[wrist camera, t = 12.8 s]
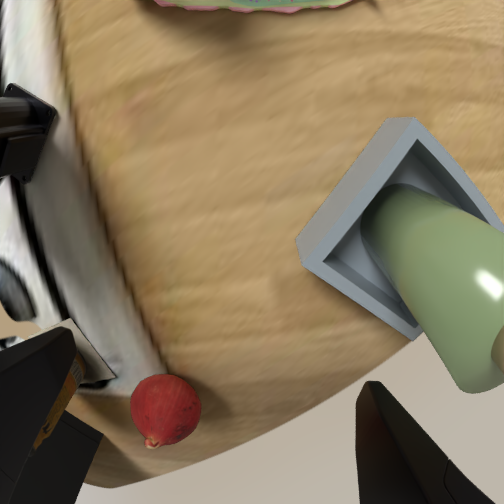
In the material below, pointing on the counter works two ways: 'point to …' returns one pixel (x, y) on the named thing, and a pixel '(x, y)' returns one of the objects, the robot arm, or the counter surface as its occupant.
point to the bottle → (443, 277)
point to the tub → (357, 199)
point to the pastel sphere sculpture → (252, 4)
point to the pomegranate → (164, 409)
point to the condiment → (73, 377)
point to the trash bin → (58, 464)
